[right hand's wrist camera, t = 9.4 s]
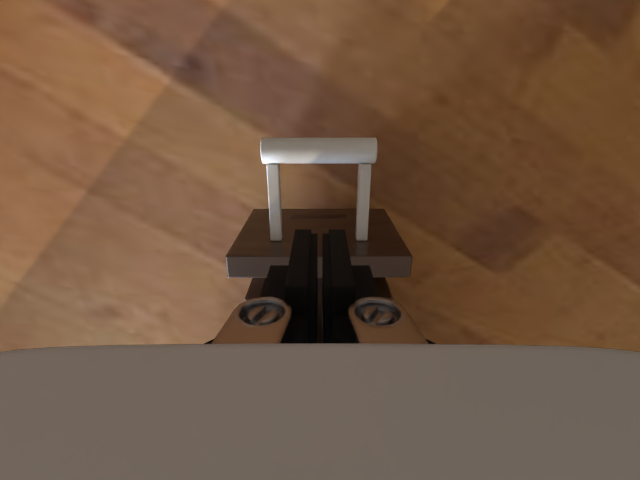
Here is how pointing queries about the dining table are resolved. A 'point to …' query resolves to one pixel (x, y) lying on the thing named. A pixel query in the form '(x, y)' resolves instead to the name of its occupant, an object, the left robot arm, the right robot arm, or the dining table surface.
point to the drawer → (318, 219)
